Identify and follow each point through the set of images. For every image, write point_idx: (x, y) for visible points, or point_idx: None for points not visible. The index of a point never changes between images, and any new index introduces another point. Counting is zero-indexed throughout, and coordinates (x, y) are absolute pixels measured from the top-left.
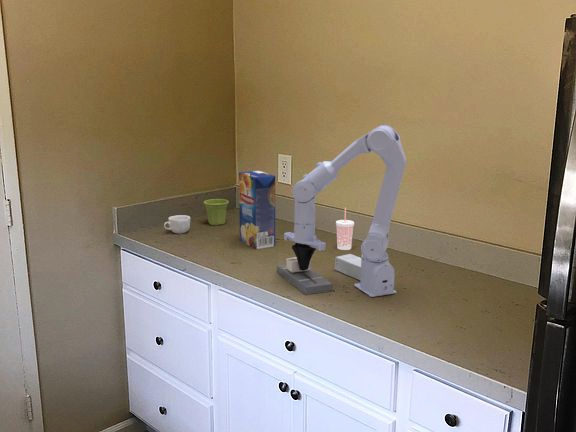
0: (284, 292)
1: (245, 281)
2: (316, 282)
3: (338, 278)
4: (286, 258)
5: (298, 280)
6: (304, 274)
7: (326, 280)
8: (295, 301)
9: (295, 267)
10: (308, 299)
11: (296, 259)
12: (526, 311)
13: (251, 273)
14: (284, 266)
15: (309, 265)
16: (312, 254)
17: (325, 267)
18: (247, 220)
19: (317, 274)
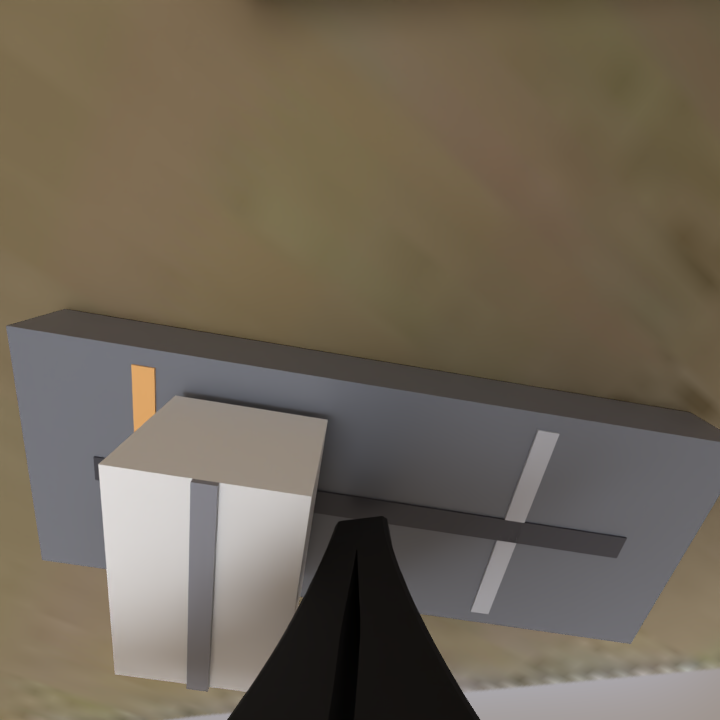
0: (473, 653)
1: (191, 713)
2: (615, 540)
3: (498, 157)
4: (118, 673)
5: (471, 611)
6: (380, 512)
7: (640, 443)
8: (630, 673)
9: (298, 601)
10: (667, 613)
11: (210, 626)
12: None
13: (62, 642)
14: (92, 529)
15: (318, 468)
16: (467, 701)
17: (106, 38)
18: None
19: (447, 415)
